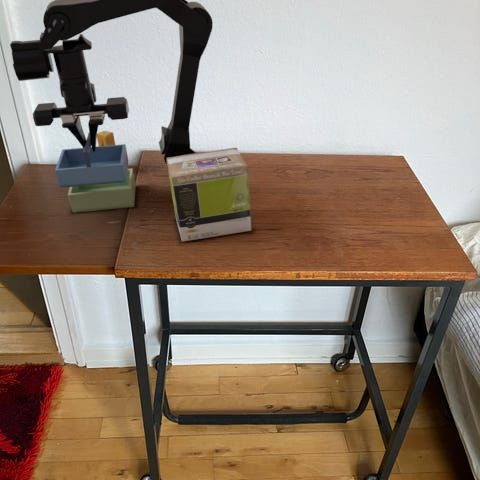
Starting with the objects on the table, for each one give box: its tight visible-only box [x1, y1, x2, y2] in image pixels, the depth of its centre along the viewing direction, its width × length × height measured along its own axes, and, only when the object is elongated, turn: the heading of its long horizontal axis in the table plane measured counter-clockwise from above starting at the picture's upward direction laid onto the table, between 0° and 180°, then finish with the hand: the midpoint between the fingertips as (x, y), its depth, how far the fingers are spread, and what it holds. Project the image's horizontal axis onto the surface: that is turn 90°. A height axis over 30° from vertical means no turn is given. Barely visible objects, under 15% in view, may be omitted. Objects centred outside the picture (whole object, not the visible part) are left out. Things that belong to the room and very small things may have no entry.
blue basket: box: [54, 132, 129, 189], centre depth 116 cm, size 14×11×7 cm
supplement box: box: [96, 130, 116, 146], centre depth 135 cm, size 3×3×10 cm
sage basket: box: [67, 168, 137, 214], centre depth 125 cm, size 14×11×4 cm
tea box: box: [166, 147, 252, 243], centre depth 110 cm, size 15×10×15 cm
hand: (91, 151), depth 116 cm, fingers closed on blue basket
